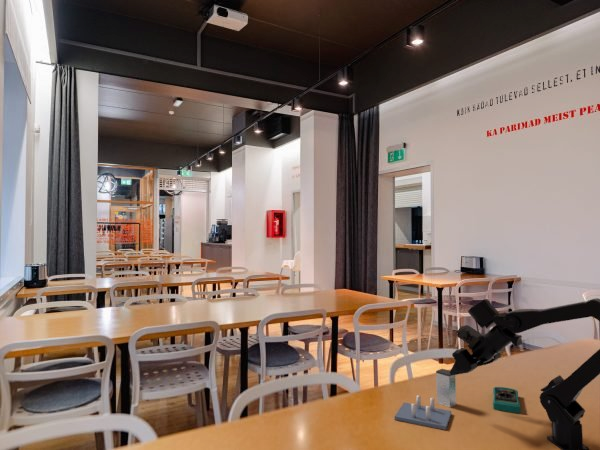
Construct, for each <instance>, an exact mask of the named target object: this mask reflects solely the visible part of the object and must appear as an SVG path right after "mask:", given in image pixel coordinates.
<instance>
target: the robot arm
mask: <svg viewBox="0 0 600 450" xmlns="http://www.w3.org/2000/svg"><path fill="white" fill-rule="evenodd" d="M467 313H468V314H469V316H470V317H471V318H472V319H473V320H474V321H475V322H476V324H477V325H478V326H479V327H480V328H482V329H484V328H485V329H486V330H488V329H490V330H488V331H487V332H486V333H485V334H482V333H481V332H480V331H478V330H476V329H475V328H474V327H471V326H470V325H468V324H466V325H461V326H460V327H459V329H457V330H456V337H457V338H458V339H460V340H461V341H464V342H465V343H467V348H469V350H470V351H471V352H472V353H470V352H469V350H468V349H467V348H464V347H463V348H462V347H461V348H460V349H459V348H458V349H456V350H455V351H454V352H452V354H451V355H452V357H453V359H454V360H455V361H454V363H453V365H452V367H451V369H450V370H449V371H450V374H451V375H455V376H457V375H462V374H463V375H464V374H468V373H471V372H473V371H474V370H475V369H477V368H478V367H482V366H486V365H488V364H489V365H490V364H492V363H494V362H496V361H498V360H499V359H500V358H501V357H502V356H501V352H503V350H504V349H505V348H506V347H507V346H509V345H510V344H513V346H515V347H518V346H522V345H523V341H522V337H523V335H521V334H520V333H523V332H526V331H528V330H531V329H534V328H537V327H540V326H542V325H549V324H553V323H559V322H567V321H572V320H579V319H585V318H590V317H592V318H593V319H596V320H597V321H598V322H600V298H598V297H597V298H592V299H589V300H585V301H580V302H575V303H570V304H565V305H559V306H554V307H548V308H540V309H539V308H538V309H537V308H520V309H516V310H512V311H508V312H506V311H504V312H501V313H500V311H498V310H497V309H496V308H495V306H493V304H492V303H491V302H490V300H489V299H487V298H484V299H482V300H481V301H480V302H478V303H476V304H475V305H474V306H473V305H472V306H471V307H470V308H469V309H468V310H467ZM599 375H600V348H599V349H597V351H595V352H594V353H593V354H592V355H591V356H590V357H589V358H587V360H585V361H584V362H583V363H582V364H581V365H580V366H578V368H576V370H574V371H573V372H572V373H570V374H569V376H568V377H566V378H563V377H562V376H561V375H560V374H558V375H557V376H556V377H554V378H553V379H551V380H550V381H549V382H548V384H547V385H545V386H544V387H542V388H541V389H540V391H541V393H540V395H539V396H538V397H539V402H540V404H541V406H542V407H543V409H544V410H545V412H546V414H547V417H548V419H549V421H550V422H551V434H552V435H549V436H546V439H547V440H548V441H550V442H551V443H552V444H554V445H556V447H558V448H559V449H561V450H590V447H589V446H587V445H585V444H584V442H583V424H582V423H581V419H582V418H584V416H585V413H586V410H585V408H584V407H583V406H582V405H581V403H579V402H578V401H577V400H578V398H579V397H580V395H581V392H582V391H583V389H585V387H587V386H588V385H589V384H590V383H592V381H594V380H595V379H596V378H597V377H599Z"/></svg>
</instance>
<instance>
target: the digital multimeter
mask: <svg viewBox="0 0 600 450" xmlns="http://www.w3.org/2000/svg"><path fill="white" fill-rule="evenodd" d="M492 395H493V400H492V408H493V410H496V411H502V412H508V413H512V414H513V413H514V414H521V410H522V409H521V405H520V401H519V391H518V389H517V390H516V389H514V388H510V387H504V386H495V387H493V388H492Z"/></svg>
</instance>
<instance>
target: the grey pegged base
mask: <svg viewBox="0 0 600 450" xmlns="http://www.w3.org/2000/svg"><path fill="white" fill-rule="evenodd" d="M415 399H416V402H415V403H411V402H410V403H409V402H404V401H403V402H402V404H401V406H400V407H399V408H398V411H397V412H396V414H395V415H394V420H395V421H398V422H404V423H407V424H409V423H410V424H413V425H419V426H423V427H429V428H434V429H437V428H438V429H439V430H442V429H443V431H447V428H448V425H449V423H450V420H451V416H452V410H450V409H449V410H448V409H443V408H437V407H435V405H436V404H435V397H430V398H429V405H422V402H421V401H422V400H421V395H418V394H417V395H416V398H415ZM448 422H449V423H448ZM438 429H437V430H438Z"/></svg>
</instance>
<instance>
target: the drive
mask: <svg viewBox="0 0 600 450" xmlns="http://www.w3.org/2000/svg"><path fill="white" fill-rule="evenodd" d="M450 371H451V370H448V369H446V368H439V369H437V370H436V371H435V378H436V379H435V380H436V382H435V384H436V385H435V386H436V403H437V404H439V405H442V406H445V407H448V408H452V407H455V406H456V405H457V393H456V390H457V389H456V387H457V386H456V384H457V383H456V375H451V374H450Z"/></svg>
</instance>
